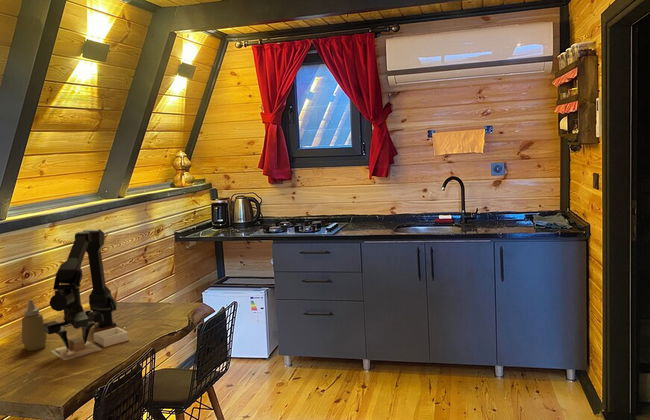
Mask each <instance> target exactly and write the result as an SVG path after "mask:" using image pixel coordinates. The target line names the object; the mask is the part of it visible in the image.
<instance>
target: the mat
mask: <svg viewBox="0 0 650 420" xmlns="http://www.w3.org/2000/svg"><path fill="white" fill-rule="evenodd" d="M87 341H88V342H90V343H92V342H91V341H89V340H87ZM94 345H95V346H97V345H96V344H94ZM97 347H98V350H95V351H91V352H88V353H84V354H80V355H77V356H73V357H70V358H65V357H63V356H62V355H60V354H59V353H57V352H56V351H55V349H54V350H51V353H53V354H54V355H56V357H58V358H60V359H62V360H63V361H67V360H70V359H74V358H78V357H81V356H84V355H88V354H91V353H95V352H98V351H103V348H102V347H99V346H97Z"/></svg>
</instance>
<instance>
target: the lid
mask: <svg viewBox="0 0 650 420" xmlns="http://www.w3.org/2000/svg"><path fill="white" fill-rule="evenodd" d="M67 339H68V345H69V348H68V349H67V348H66V346H65V345H64V346H60V347H55V348H54V350H55V351H56V352H57V353H59V354H60V355H62V356H63V357H65V358H70V357H73V356H77V355H80V354H84V353H88V352H91V351H95V350H98V347H99V346H98V347H97V345H96V344H94V343H92V342H91V341H89V340H87V341H86V344H85V343H84V341H83V338H80V337H78V336H76V335H75V336H71V337H67ZM88 341H89V342H88ZM90 342H91V343H90ZM95 345H96V346H95ZM95 352H96V351H95ZM88 354H89V353H88ZM77 357H78V356H77ZM70 359H71V358H70Z"/></svg>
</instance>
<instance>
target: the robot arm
mask: <svg viewBox="0 0 650 420" xmlns="http://www.w3.org/2000/svg"><path fill="white" fill-rule="evenodd" d="M104 245H105V233H104V231H102V230H101V229H100V228H99V229H98V228H97V229H84V230H82V231H78V232H76V233H75V234H74V241H73V243H72V246H71V248H70V251H69V254H68V257H67V259H66V260H65V261H64V262H63V263H61V264H60V266H59V268H58V270H57V271H56V273H55V278H54V283H53V286H52V287H53V288H52V290H53V291H54V295H52V297H50V300H49V307H50V308H51V309H52V310H53V311H55V312H62V311H63V321H61V322H58V321H56V320H53V321H48V322H44V325H43V330H44V332H46V334H47V335H53V334H57V335H58V336H59V338H60V339H61V341H62V343H63V344H64V346H66V348H67V349H68V348H69V345H68V339H67V338H68V336H67V335H68V331H67V330H66V329H65V328H66V327H71V326H72V327H73V329H80V328H81V333H82V334H81V335H82V336H81V337H82V340H83V341H84V343H85V344H86V341H88V337H89V333H90V332H91V329H92V327H96V328H99V329H103V328H107V327H111V326H116V325H117V323H116V322H114V320H113V312H115V311H117V307H118V306H117V302H116V300H115V298H114V297H113V295H112V291H111V290H110V289H109V287H108V286H107V285H106V280H105V271H104V265H103V256H102V249H103V247H104ZM86 253H87V256H88V257H87V258H88V263H89V270H90V271H89V273H90V278H91V283H92V284H91V285H92V290H91V292H90V294H89V296H88V304H89V305H88V306H89V309H90V310H89V309H88V310H86V311H85V310H84V307H83V305H82V302H81V301H82V300H81V291H80V290H81V289H80V288H81V287H82V286H81V283H82V279H83V270H82V268H81V266H82V264H83V260H84V259H85V258H84V257H85V255H86Z"/></svg>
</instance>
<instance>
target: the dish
mask: <svg viewBox="0 0 650 420" xmlns="http://www.w3.org/2000/svg"><path fill="white" fill-rule="evenodd" d="M93 341H94V342H95V343H97V344H99V345H100V346H102V347H104V348H106V347H109V346H112V345H116V344H120V343H123V342H127V341H129V332H128V331H126V330H124V329H123V328H120V327H118V326H116V327H113V328H109V329H104V330H101V331H96V332H93Z"/></svg>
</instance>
